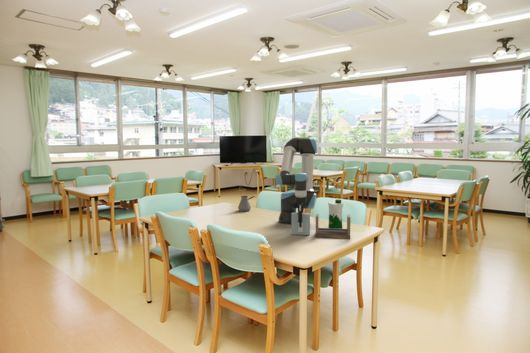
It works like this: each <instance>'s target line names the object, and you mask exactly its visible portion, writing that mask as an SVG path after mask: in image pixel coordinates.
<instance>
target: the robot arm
mask: <svg viewBox="0 0 530 353" xmlns="http://www.w3.org/2000/svg"><path fill="white" fill-rule="evenodd" d="M282 151H283V157H282V162H281V167H280V172H279V173H277V174H276V175H275V184H276V185H280V186H295V187H294V190H288V191H282V192H281V194H280V213H279V216H278V222H279V223H281V224H284V225H285V224H287V225H292V213H298V221H297V222H298V232H303V221H302V213H304V210H306V209H307V210H312V209H314V208H315V207H316V202H317V193H315V190H314V188H313V186H314V185H313V184H314V180H313V178H314V157H316V153H318V144H317V139H316V137H308V136H307V137H293V138H291V139H289V140H288V141H287V142H286V143H285V145H284V147H283V150H282ZM297 153H299V155H300V156H301V172H297V173H292V169H293V163H294V158H295V155H296V154H297Z"/></svg>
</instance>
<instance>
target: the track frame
mask: <svg viewBox="0 0 530 353" xmlns="http://www.w3.org/2000/svg"><path fill="white" fill-rule="evenodd" d="M319 219H320V218H319V213H315V234H314V235H315V238H318V239H322V238H323V239H345V240H347V239H349V240H350V239H351V214H347V215H346V219H347V220H346V228H342V229H338V228H329V227H319V222H320V220H319Z"/></svg>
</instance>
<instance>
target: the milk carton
mask: <svg viewBox="0 0 530 353" xmlns="http://www.w3.org/2000/svg"><path fill="white" fill-rule="evenodd" d="M343 207H344V203H343V202H342V199H335V200H334V201H331V202H328V228H338V229H343Z"/></svg>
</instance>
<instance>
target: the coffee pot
mask: <svg viewBox="0 0 530 353" xmlns="http://www.w3.org/2000/svg"><path fill="white" fill-rule="evenodd" d="M240 198H241V199H240V201H239V204H238V207H237V209H238V210H239V212H244V213H245V212H249V211H251V208H252V206H251V203H250V202H249V200H250V199H254V198H256V196H253V195H252V196H251V197H249V198H248V195H241V196H240Z"/></svg>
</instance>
